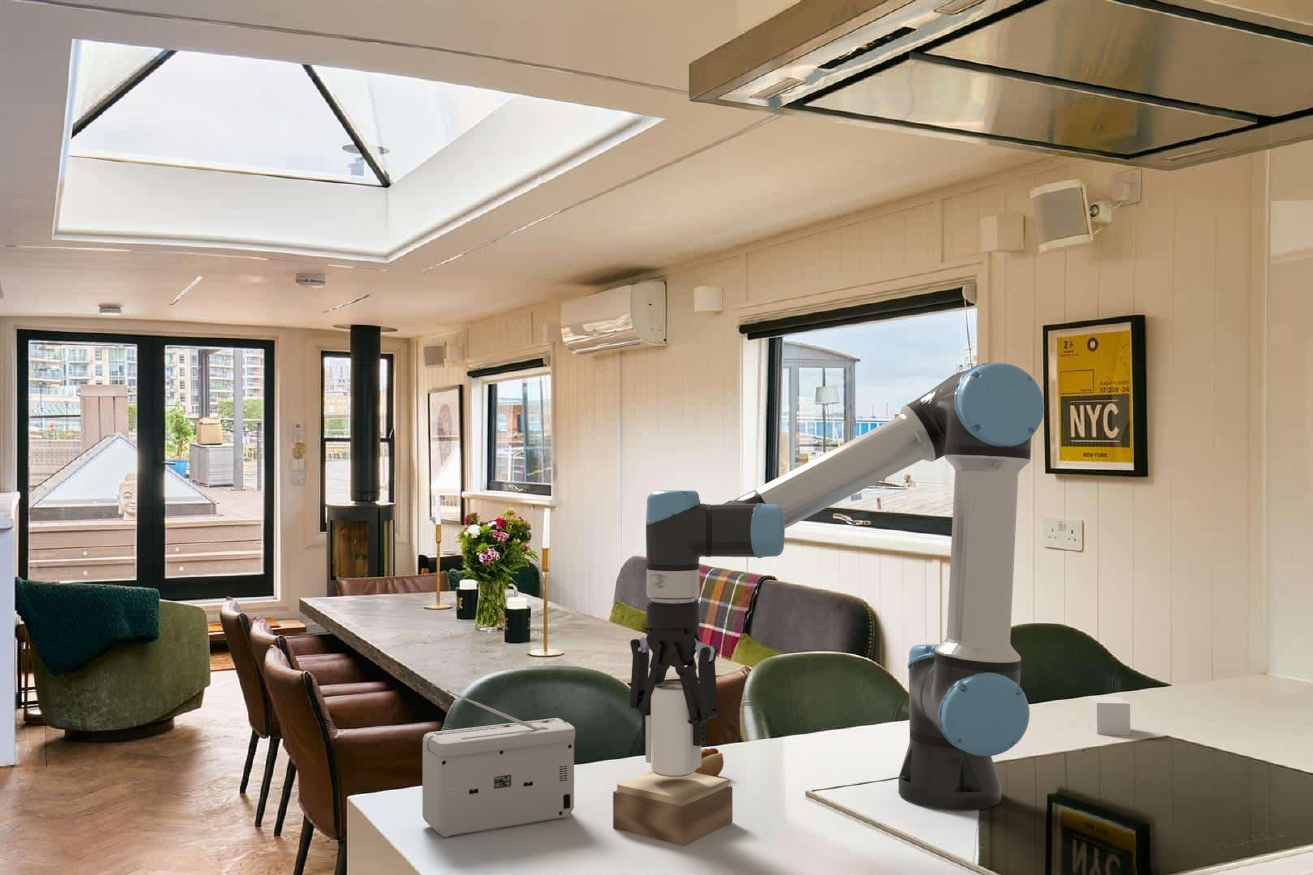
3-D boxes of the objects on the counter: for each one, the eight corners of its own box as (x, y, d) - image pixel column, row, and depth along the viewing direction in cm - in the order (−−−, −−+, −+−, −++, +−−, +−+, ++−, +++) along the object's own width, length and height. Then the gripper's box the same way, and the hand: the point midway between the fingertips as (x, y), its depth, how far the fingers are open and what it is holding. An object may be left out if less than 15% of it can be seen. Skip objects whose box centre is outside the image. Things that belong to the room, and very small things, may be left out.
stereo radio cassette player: (558, 803, 159) (558, 669, 160) (580, 819, 151) (580, 678, 152) (420, 825, 149) (421, 682, 150) (436, 843, 142) (437, 692, 143)
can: (692, 778, 145) (692, 690, 146) (646, 776, 146) (646, 688, 147) (700, 765, 152) (700, 681, 152) (656, 763, 153) (655, 679, 153)
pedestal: (732, 822, 150) (732, 779, 150) (683, 845, 140) (683, 800, 141) (664, 806, 157) (664, 765, 157) (613, 828, 148) (613, 784, 148)
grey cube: (1097, 734, 200) (1096, 702, 201) (1088, 727, 206) (1087, 696, 207) (1130, 735, 200) (1129, 703, 200) (1120, 728, 206) (1119, 696, 206)
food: (682, 798, 162) (682, 765, 162) (652, 792, 165) (652, 759, 165) (730, 777, 173) (730, 746, 173) (702, 772, 176) (702, 741, 176)
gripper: (603, 597, 153) (603, 759, 152) (714, 606, 141) (715, 782, 140) (635, 592, 159) (635, 748, 158) (744, 601, 147) (745, 769, 146)
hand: (673, 763), depth 149 cm, fingers closed on can, 6 cm apart
